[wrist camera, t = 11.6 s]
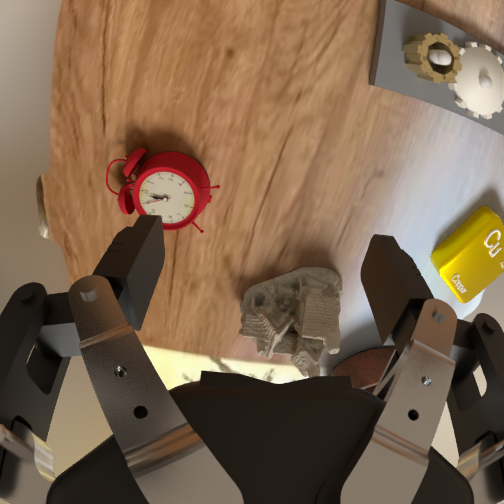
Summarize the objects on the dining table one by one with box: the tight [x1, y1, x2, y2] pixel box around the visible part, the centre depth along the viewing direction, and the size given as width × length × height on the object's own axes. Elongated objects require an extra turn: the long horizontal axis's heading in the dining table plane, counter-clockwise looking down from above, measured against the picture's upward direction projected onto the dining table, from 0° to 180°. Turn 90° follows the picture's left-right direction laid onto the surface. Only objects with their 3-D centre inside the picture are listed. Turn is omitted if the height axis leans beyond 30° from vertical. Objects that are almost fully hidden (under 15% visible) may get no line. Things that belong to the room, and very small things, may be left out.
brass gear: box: [402, 32, 462, 84], centre depth 25 cm, size 6×6×4 cm
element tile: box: [430, 206, 504, 303], centre depth 44 cm, size 15×15×5 cm
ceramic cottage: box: [239, 267, 342, 378], centre depth 47 cm, size 16×16×15 cm
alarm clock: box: [106, 148, 220, 233], centre depth 38 cm, size 10×6×15 cm
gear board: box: [369, 0, 504, 135], centre depth 25 cm, size 12×24×7 cm, turn 85°
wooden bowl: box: [330, 347, 396, 393], centre depth 63 cm, size 25×25×10 cm
